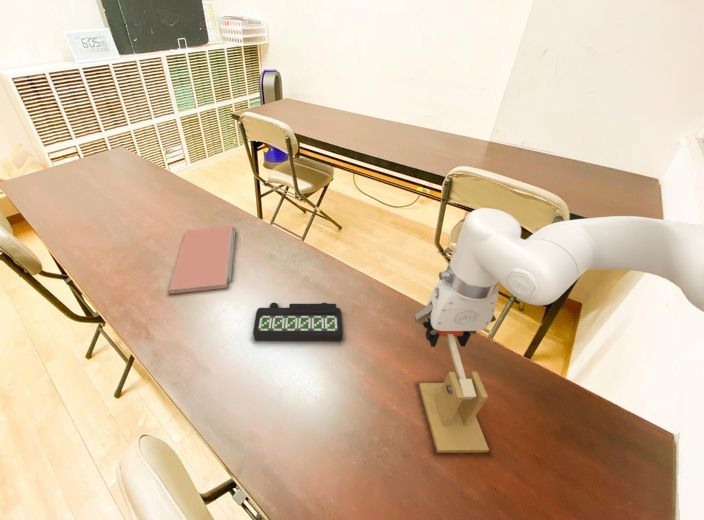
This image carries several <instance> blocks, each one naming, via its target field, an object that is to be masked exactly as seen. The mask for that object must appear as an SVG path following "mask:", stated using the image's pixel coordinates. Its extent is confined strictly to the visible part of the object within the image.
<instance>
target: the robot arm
mask: <svg viewBox="0 0 704 520" xmlns="http://www.w3.org/2000/svg"><path fill="white" fill-rule="evenodd" d="M521 236H522V226H521V224H520V223H519V221H518V219H516V217H514V216H513V215H511V214H510V213H508V212H505V211H503V210H500V209H497V208H490V207H482V208H476V209H474V210H471V212H469V213H468V214H467V215H466V217H465V218H464V221H463V223H462V226H461V229H460V231H459V235H458V238H457V240H456V244H455V247H454V249H453V252H452V255H451V258H450V261H449V264H447V268H446V269H445V270H444V271H439V273H438V278H439V279H438V281H437V283H436V284H435V286H434V287H433V290H432V291H431V294H430V296H429V299H428V301H427V305H426V307H424V308H422V309H421V310H419V311H418V312H416V313H414V315H413V316H414V320H415V322H416V323H418V324H419V325H422V326H423V328H425V329H426V331H425V338H426V340H427V341H428V342H429V344H430V347H431V348H435V347H436V345H437V344H438V341H439V339H440V336H439V333H438V332H439V331H463V336H456V338H457V341H458V344H459V346H460V347H462V348H465V347H466V345H467V343H468V341H469V340H470V337H471V335H475V334H476V333H477V331H478V332H479V331H485V330H486V329H487V328H489V325H490V324H491V323H493V322H495V321H497V318H496V316H495V312H496V308H497V305H498V300H499V292H500V291H499V289H500V288H499V287H498V285H499V284H500V285H501V286H502V287H503V288H504V289H505V290H506V291H508V293H510V294H511V295H512V296H513V297H515V298H517V299H518V300H519V301H521V302H523V303H526V304H528V305H532V306H547V305H550V304H552V303H554V302H556V301H557V300H559V298H561V296H562V295H563V294H564V293H566V292H567V290H568V289H570V287H571V286H572V285H574V283H576V281H577V280H578V279H579V278H580V277H581V276H582V275H583V274H584V273H585V272H586V271H588V270H619V271H633V272H640V273H646V274H650V275H653V276H657V277H660V278H662V279H664V280H667V281H669V282H670V283H672V284H673V285H675V286H676V287H677V288H679V289H680V290H681V293H682V294H683V296H684V297H685V298H686V300H687V301H688V302H689V303H690V304H691V305H692V306H693V307H695V308H696V309H698V310H699V311H702V313H703V312H704V223H687V222H681V221H677V220H670V219H660V218H653V217H645V216H637V215H613V216H599V217H590V218H577V219H568V220H561V221H557V222H553V223H550V224H548V225H545V226H543V227H541V228H539V229H538V230H536V231H535V232H534V233H532V234H531V235H529V236H528V237H527V238H526V239H524V238H522V237H521Z"/></svg>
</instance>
